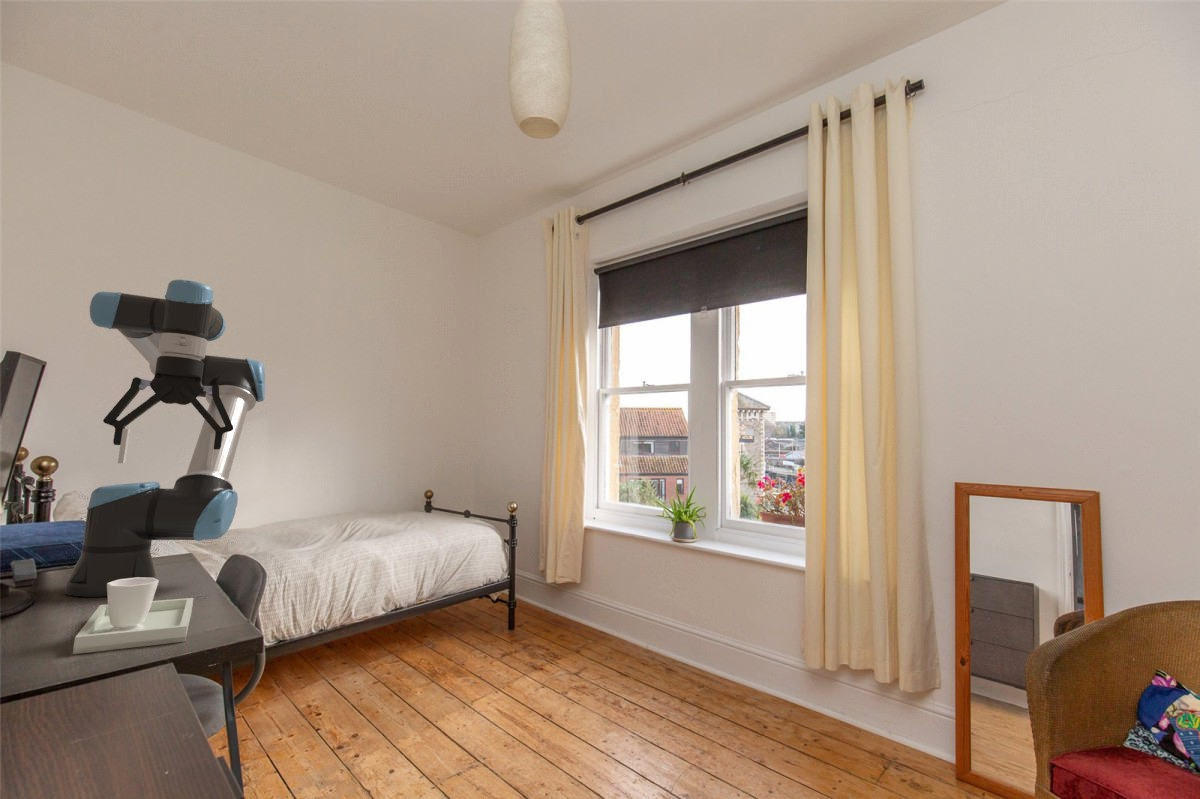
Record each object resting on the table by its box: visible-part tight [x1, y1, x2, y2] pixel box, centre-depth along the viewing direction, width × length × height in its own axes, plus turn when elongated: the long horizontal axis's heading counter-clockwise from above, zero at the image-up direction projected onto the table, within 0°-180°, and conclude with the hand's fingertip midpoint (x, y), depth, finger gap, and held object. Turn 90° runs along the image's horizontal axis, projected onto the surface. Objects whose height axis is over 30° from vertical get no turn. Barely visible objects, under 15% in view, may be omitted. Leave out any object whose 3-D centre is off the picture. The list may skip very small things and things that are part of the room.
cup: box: [106, 577, 160, 632], centre depth 96 cm, size 7×10×8 cm
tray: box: [72, 597, 194, 655], centre depth 97 cm, size 20×14×2 cm
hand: (166, 464), depth 108 cm, fingers open, 13 cm apart
